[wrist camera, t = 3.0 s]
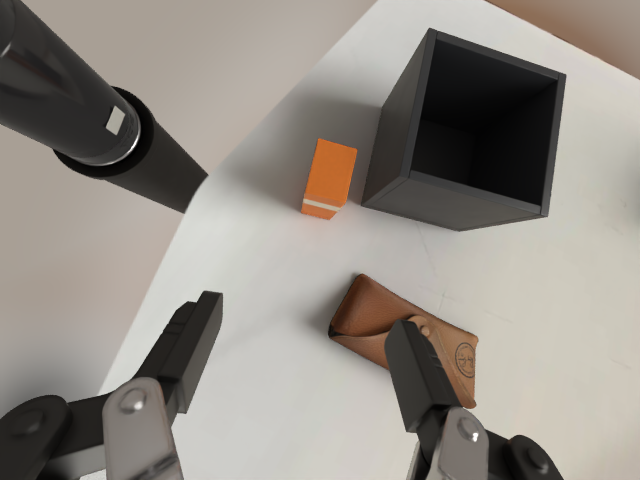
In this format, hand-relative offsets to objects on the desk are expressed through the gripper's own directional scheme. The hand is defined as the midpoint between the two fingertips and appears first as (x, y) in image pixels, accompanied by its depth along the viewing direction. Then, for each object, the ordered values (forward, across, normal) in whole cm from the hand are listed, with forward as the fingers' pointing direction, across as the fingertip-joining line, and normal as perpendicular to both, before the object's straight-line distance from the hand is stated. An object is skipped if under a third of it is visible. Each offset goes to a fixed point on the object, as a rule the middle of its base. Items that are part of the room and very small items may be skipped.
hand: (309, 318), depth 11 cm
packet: (+20, -1, +2) cm, 21 cm away
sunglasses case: (+12, -14, +14) cm, 23 cm away
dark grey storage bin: (+24, -14, -3) cm, 28 cm away
